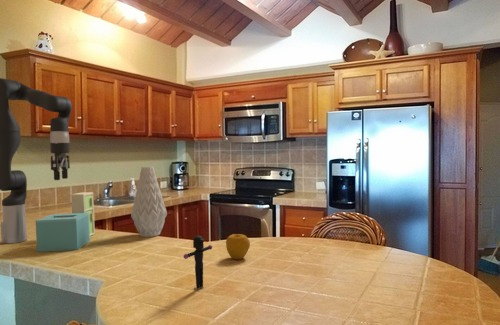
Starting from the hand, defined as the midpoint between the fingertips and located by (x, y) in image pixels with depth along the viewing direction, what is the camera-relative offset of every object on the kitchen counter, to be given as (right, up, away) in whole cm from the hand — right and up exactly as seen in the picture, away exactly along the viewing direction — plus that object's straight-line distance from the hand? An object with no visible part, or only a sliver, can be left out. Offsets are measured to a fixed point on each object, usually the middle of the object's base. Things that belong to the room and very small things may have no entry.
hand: (61, 179), depth 165 cm
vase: (+34, -28, +16) cm, 47 cm away
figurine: (+68, -29, -58) cm, 94 cm away
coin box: (+2, -29, -1) cm, 29 cm away
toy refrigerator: (+2, -29, +19) cm, 35 cm away
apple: (+78, -28, -28) cm, 88 cm away
